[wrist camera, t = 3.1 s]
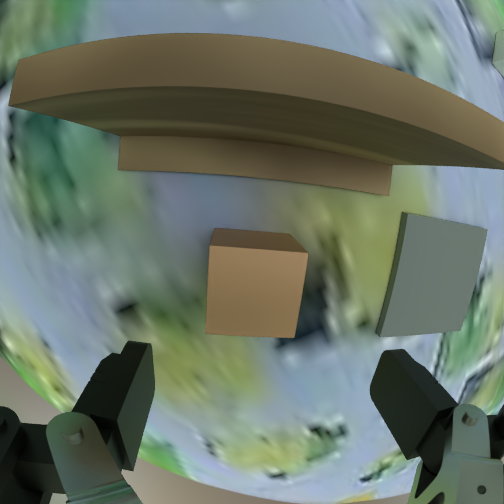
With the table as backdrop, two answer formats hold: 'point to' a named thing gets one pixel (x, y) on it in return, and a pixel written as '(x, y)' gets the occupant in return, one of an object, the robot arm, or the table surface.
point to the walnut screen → (257, 109)
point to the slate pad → (431, 276)
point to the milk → (499, 52)
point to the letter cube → (254, 283)
